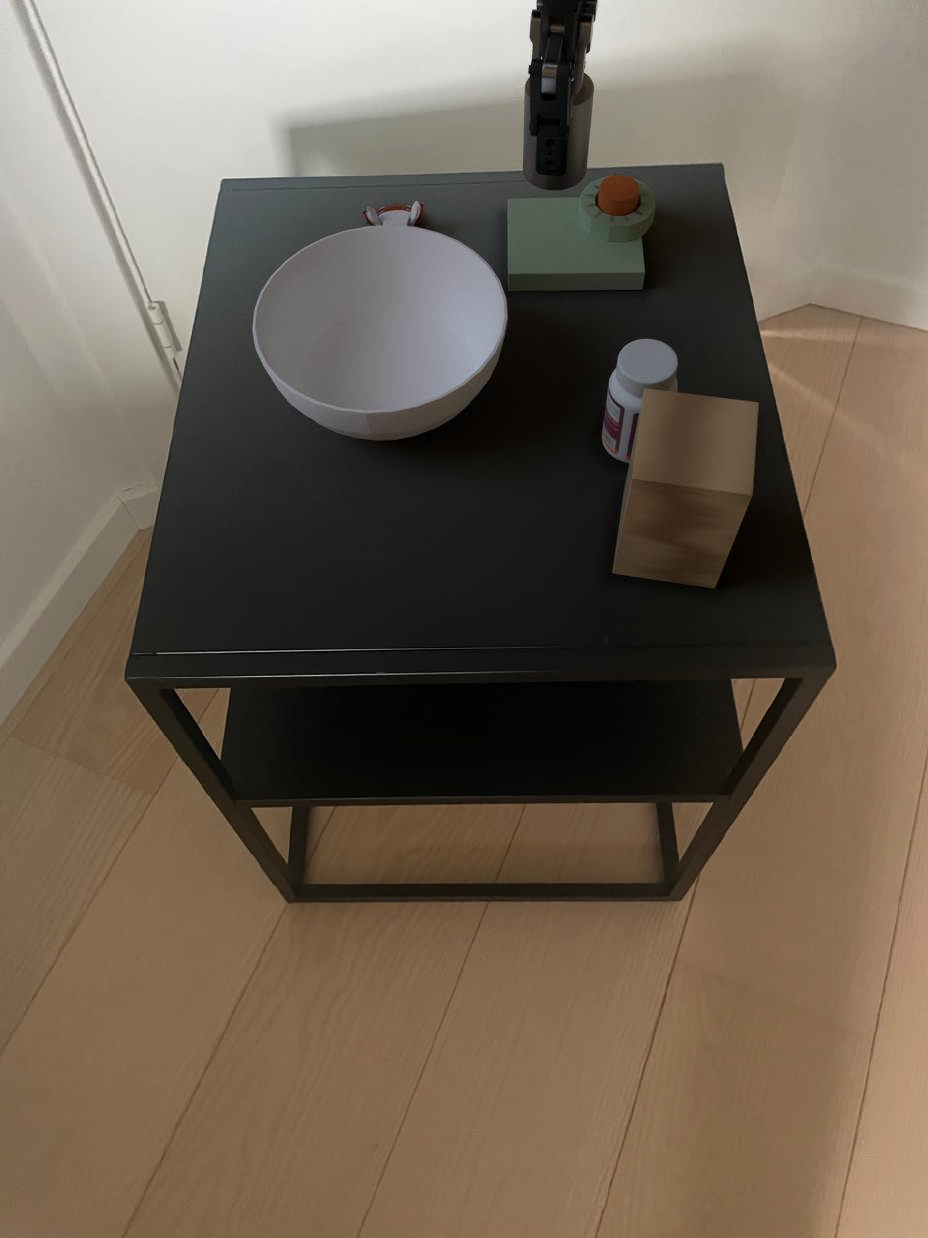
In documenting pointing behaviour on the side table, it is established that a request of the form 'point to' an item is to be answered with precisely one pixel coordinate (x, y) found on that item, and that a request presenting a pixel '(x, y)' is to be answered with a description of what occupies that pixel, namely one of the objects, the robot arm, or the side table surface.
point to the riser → (686, 487)
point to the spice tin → (576, 142)
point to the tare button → (618, 195)
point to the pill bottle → (635, 391)
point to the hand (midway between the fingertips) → (556, 146)
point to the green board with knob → (576, 243)
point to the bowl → (381, 330)
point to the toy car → (395, 215)
